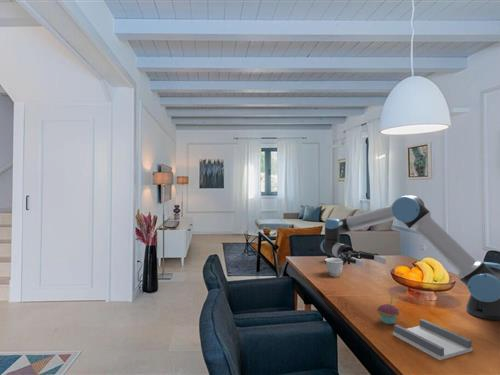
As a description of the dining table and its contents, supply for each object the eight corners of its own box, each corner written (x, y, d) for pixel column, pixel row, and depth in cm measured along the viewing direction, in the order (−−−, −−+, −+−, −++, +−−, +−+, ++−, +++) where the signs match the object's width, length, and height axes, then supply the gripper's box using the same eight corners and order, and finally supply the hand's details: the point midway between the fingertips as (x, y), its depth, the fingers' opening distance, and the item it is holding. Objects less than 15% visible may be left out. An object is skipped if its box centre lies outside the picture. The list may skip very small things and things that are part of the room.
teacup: (341, 271, 219) (341, 256, 219) (346, 278, 204) (345, 262, 204) (323, 271, 220) (323, 256, 220) (326, 277, 205) (326, 261, 205)
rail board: (393, 334, 127) (392, 325, 127) (423, 327, 133) (423, 318, 133) (439, 360, 108) (439, 349, 108) (472, 350, 114) (472, 340, 114)
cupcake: (393, 317, 143) (393, 290, 143) (403, 326, 135) (402, 296, 135) (374, 318, 143) (373, 290, 143) (382, 326, 135) (382, 297, 134)
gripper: (362, 257, 171) (394, 268, 152) (322, 261, 162) (350, 273, 142) (362, 243, 171) (394, 252, 152) (322, 246, 162) (351, 256, 142)
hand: (373, 262), depth 147 cm, fingers open, 13 cm apart
